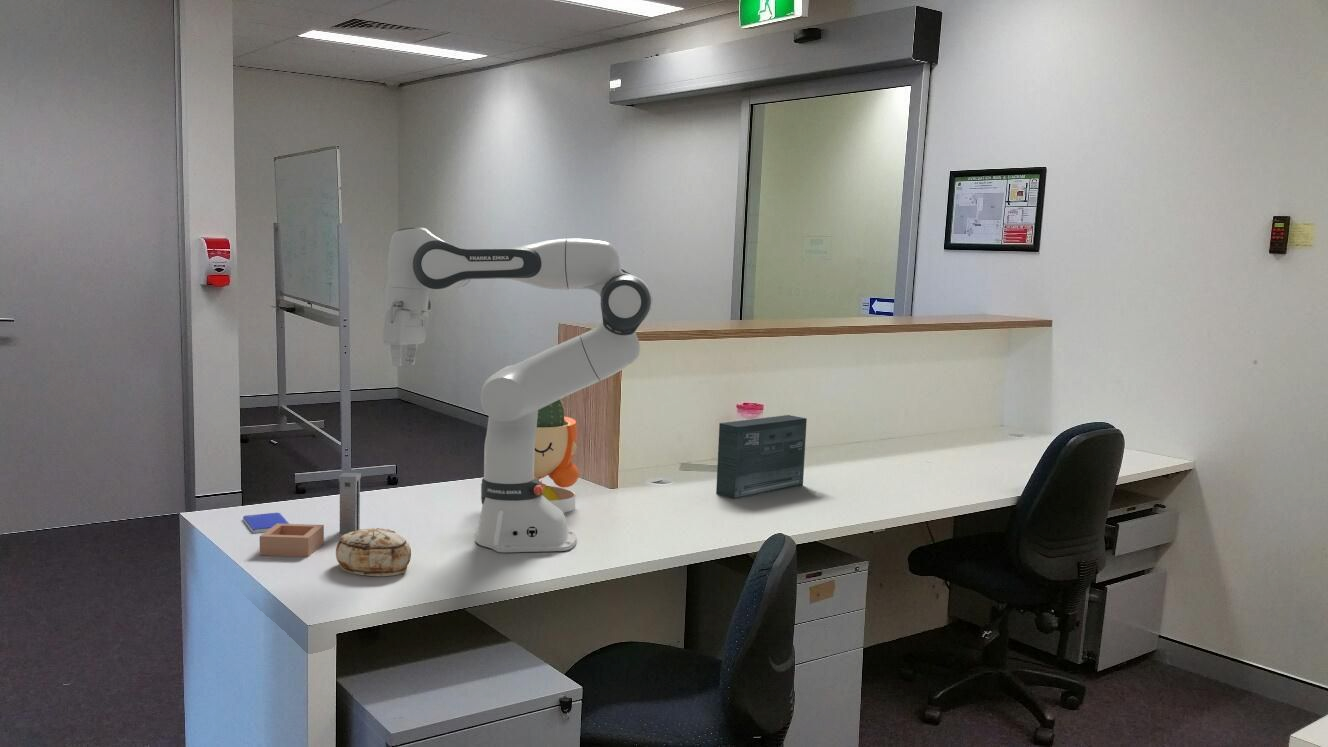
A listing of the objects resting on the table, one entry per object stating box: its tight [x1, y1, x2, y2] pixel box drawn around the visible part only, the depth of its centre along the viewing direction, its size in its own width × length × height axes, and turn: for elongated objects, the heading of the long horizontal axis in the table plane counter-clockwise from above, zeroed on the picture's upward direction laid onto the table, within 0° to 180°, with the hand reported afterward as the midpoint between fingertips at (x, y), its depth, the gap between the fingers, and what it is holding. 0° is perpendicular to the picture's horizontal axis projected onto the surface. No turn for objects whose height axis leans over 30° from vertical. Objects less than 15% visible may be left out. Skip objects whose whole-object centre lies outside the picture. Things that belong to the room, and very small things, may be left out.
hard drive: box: [242, 512, 290, 534], centre depth 229 cm, size 2×8×12 cm
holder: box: [259, 523, 325, 557], centre depth 211 cm, size 10×10×4 cm
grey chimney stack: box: [338, 472, 362, 535], centre depth 224 cm, size 4×4×13 cm
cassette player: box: [715, 414, 808, 500], centre depth 282 cm, size 29×7×20 cm, turn 133°
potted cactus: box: [534, 397, 580, 514], centre depth 256 cm, size 22×22×35 cm
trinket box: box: [335, 527, 412, 577], centre depth 200 cm, size 13×15×8 cm
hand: (403, 365), depth 218 cm, fingers open, 8 cm apart
